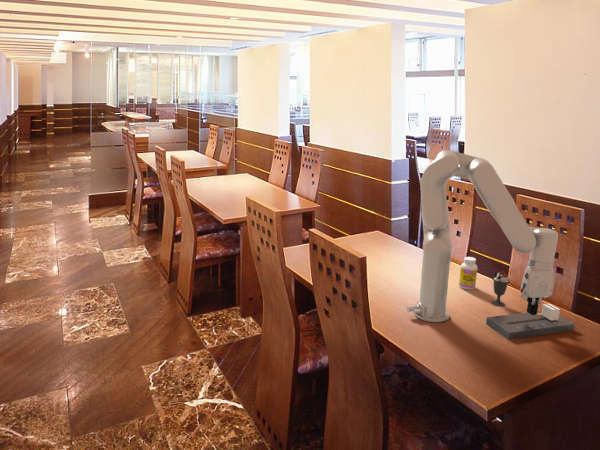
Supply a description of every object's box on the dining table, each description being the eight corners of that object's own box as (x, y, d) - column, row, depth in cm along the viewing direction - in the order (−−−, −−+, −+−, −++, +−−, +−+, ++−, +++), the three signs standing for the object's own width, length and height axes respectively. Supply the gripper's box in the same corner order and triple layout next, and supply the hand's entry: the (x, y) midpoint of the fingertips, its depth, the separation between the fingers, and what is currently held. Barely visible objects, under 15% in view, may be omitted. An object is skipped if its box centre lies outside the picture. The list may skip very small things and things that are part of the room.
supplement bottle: (459, 289, 207) (462, 260, 204) (457, 283, 213) (460, 255, 210) (476, 290, 206) (479, 261, 203) (473, 284, 212) (476, 256, 209)
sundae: (508, 308, 190) (513, 271, 186) (490, 306, 191) (494, 269, 187) (505, 301, 196) (510, 265, 192) (487, 299, 197) (492, 264, 193)
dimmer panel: (508, 339, 165) (509, 332, 164) (486, 323, 176) (486, 317, 176) (574, 330, 172) (575, 323, 172) (548, 315, 183) (549, 309, 183)
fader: (551, 320, 173) (553, 309, 172) (541, 314, 178) (542, 304, 176) (558, 319, 174) (560, 308, 173) (547, 313, 178) (549, 303, 177)
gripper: (529, 269, 163) (520, 320, 168) (566, 266, 167) (557, 316, 172) (514, 261, 170) (506, 310, 175) (550, 259, 174) (541, 307, 179)
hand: (531, 313), depth 173 cm, fingers closed
